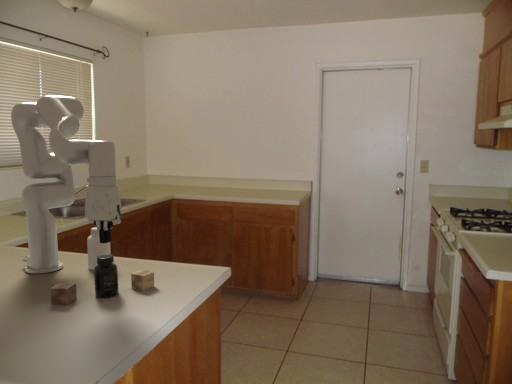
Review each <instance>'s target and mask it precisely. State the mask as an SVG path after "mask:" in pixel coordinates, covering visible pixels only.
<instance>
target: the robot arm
mask: <svg viewBox="0 0 512 384" xmlns="http://www.w3.org/2000/svg"><path fill="white" fill-rule="evenodd" d="M84 112H85V110H84V106H83V103H82V102H81V101H80V100H79V99H78V98H77V97H74V96H66V95H54V94H47V95H46V94H45V95H44V96H41V97H39V98H38V100H37V101H35V102H32V101H27V102H26V101H23V102H18V103H16V104H15V105H14V106H13V107H12V109H11V114H10V118H11V119H10V120H11V124H12V128H13V130H14V133H15V135H16V137H17V140H18V143H19V148H20V157H21V158H20V159H21V164H22V170H23V173H24V175H25V177H26V178H27V179H29V180H48V179H51V180H52V179H54V180H55V182H54V181H52V182H39V183H38V182H36V183H31V184H28V185H27V186H25V187H24V188H23V189H22V193H21V198H22V202H23V206H24V211H25V216H26V228H27V229H26V230H27V245H28V246H27V247H28V254H27V255H25V257H23V258H22V262H23V263H27V264H26V266H25V267H24V272H25V273H27V274H34V275H35V274H37V275H38V274H47V273H48V274H49V273H53V272H56V271H59V270H60V269H62V268H64V263H63V261H60V260H59V248H58V229H57V228H58V227H57V220H56V218H55V216H54V214H53V213H51V211H50V209H57V208H64V207H65V208H66V207H70V206H71V205H72V204H73V203H74V202H75V199H76V193H75V184H74V177H73V168H72V166H79V165H80V166H81V165H88V177H87V178H86V182H88V183H89V186H87V188H86V190H85V191H86V192H85V197H84V198H85V201H84V215H85V218H86V219H87V220H88V222H89V223H90V224H93V225H94V226H95V227H97V229H98V230H99V239H100V243H104V244H105V243H108V242H110V243H111V241H112V230H111V229H113V227H114V226H116V225H119V224H121V223H122V220H121V218H122V212H123V211H122V202H121V200H122V199H121V194H120V190H119V186H117V172H116V171H117V170H116V167H117V166H116V147H115V143H114V142H113V141H111V140H97V139H70V138H72V137H73V136H75V135H77V133H78V131H79V130H80V127H81V123H80V121H81V119H82V118H83V117H84V114H85V113H84ZM37 128H50V132H49V136H48V141H49V147H50V150H51V152H49V151H48V147H47V142H46V139H45V137H44V135H43V134H42V133H41V131H39V130H38V129H37Z"/></svg>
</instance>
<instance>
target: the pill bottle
mask: <svg viewBox="0 0 512 384" xmlns="http://www.w3.org/2000/svg"><path fill="white" fill-rule="evenodd" d="M86 243H87V244H86V245H87V268H88V269H89V270H91V271H94V268H95V266H97V265H98V264H97V257H98V256H101V255H112V253H111V241H110V242H108V243H105V244H104V243H100V239H99V230H98V229H97V227H96V226H95V227H91V228H90V235H89V236H88V237H87V242H86Z"/></svg>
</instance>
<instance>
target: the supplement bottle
mask: <svg viewBox="0 0 512 384" xmlns="http://www.w3.org/2000/svg"><path fill="white" fill-rule="evenodd" d="M114 260H115V259H114V255H113V254H111V255H101V256H98V257H97V264H98V265H97V266H95V268H94V270H93V275H94V277H93V278H94V279H93V281H94V293H95V296H96V297H97V298H101V299H104V298H105V299H106V298H113V297H115V296H116V295H118V294H119V273H118V272H119V271H118V266H117V264H116V263H114V262H115V261H114Z"/></svg>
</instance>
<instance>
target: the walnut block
mask: <svg viewBox="0 0 512 384" xmlns="http://www.w3.org/2000/svg"><path fill="white" fill-rule="evenodd" d="M75 300H77V283H76V282H58V283H56V284H55V285H54V286H52V287H50V303H51V304H50V305H52V306H70V304H72V303H73V302H75Z"/></svg>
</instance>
